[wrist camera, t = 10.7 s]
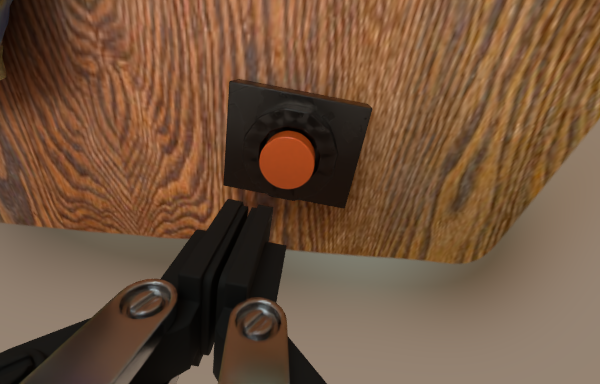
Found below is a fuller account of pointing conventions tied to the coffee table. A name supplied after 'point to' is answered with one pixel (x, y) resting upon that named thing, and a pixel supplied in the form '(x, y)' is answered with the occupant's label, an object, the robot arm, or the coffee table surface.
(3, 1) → the decorative rock
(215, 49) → the coffee table surface
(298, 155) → the button
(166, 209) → the coffee table surface
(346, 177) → the control block
